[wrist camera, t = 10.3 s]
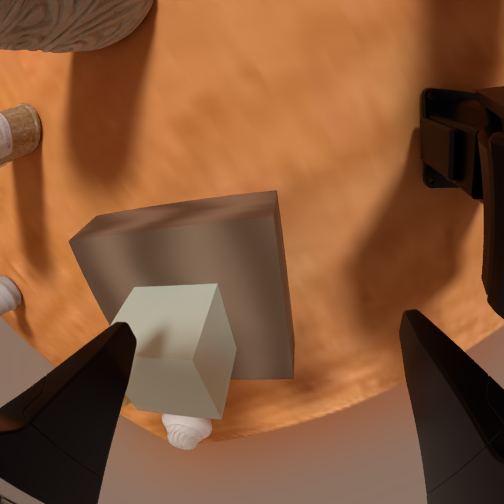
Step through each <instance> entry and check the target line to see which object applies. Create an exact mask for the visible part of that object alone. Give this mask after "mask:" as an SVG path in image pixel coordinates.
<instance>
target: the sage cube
mask: <svg viewBox="0 0 504 504" xmlns="http://www.w3.org/2000/svg"><path fill="white" fill-rule="evenodd" d="M115 322H127V323H128V324H129V326H130V328H131V330H132V331H133V333H134V335H135V337H136V340H137V346H136V350H135V355H134V360H133V365H132V370H131V375H130V379H129V383H128V387H127V390H126V393H125V394H126V396H127V397H128V398H129V399H130V401H131V402H132V403H133V404H134V406H135V407H136V408H137V409H138V410H143V411H150V412H156V413H163V414H170V415H178V416H187V417H196V418H207V419H221V420H222V418H223V413H224V408H225V403H226V398H227V393H228V388H229V383H230V378H231V374H232V369H233V364H234V359H235V354H236V349H237V348H236V345H235V342H234V338H233V335H232V332H231V328H230V325H229V322H228V318H227V315H226V311H225V308H224V304H223V301H222V297H221V294H220V290H219V287H218V283H217V284H197V285H176V286H151V287H134V288H133V290H132V291H131V293H130V294H129V296H128V298H127V299H126V301H125V302H124V304H123V305H122V307H121V309H120V310H119V312H118V314H117V315H116V317H115V318H114V320H113V322H112V323H111V325H113V324H114V323H115ZM111 325H110V326H111Z"/></svg>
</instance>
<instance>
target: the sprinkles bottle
mask: <svg viewBox="0 0 504 504" xmlns="http://www.w3.org/2000/svg"><path fill="white" fill-rule="evenodd" d="M40 132H41V124H40V119H39V117H38V114H37V111H36V110H35V109H34V107H32V106H31V105H29V104H18V105H17V106H15V107H13V108H9V109H6V110H3V111H0V168H1V167H3V166H5V165H6V164H7V163H8V162H10V161H12V160H14V159H16V158H18V157H21V156H23V155H28V154H29V153H31V152H33V151H34V149H35V148H36V147H37V146H38V143H39V140H40Z"/></svg>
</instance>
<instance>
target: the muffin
mask: <svg viewBox="0 0 504 504" xmlns="http://www.w3.org/2000/svg"><path fill="white" fill-rule="evenodd" d="M211 421H212V420H211V419H207V418H196V417H187V416H178V415H170V414H163V415H162V422H163V424H164V426H165V427H166V431H167V433H168V437H167V438H168V441H169V442H170V443H171V444H172V445H173V446H175V447H177V448H180V449H185V450H191V449H193V448H195V447H196V446H197V444H198V442H200V441H201V440H202V439H204V438H206V437H208V436H209V435H210V434H211V432H212V424H211Z"/></svg>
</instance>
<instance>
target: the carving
mask: <svg viewBox="0 0 504 504" xmlns="http://www.w3.org/2000/svg"><path fill="white" fill-rule="evenodd" d="M153 1H154V0H0V49H3V50H29V51H37V50H42V51H43V52H52V53H66V52H79V51H89V50H97V49H100V48H103V47H107V46H109V45H112V44H114V43H116V42H118V41H119V40H121V39H123V38H125V37H126V36H128V35H129V34H130V33H132V32H133V31H134V30H135V29H136V28H137V26H138V25H139V24H140V23H141V22H142V21H143V19H144V18H145V16H146V15H147V13H148V12H149V10H150V8H151V6H152V4H153Z"/></svg>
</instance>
